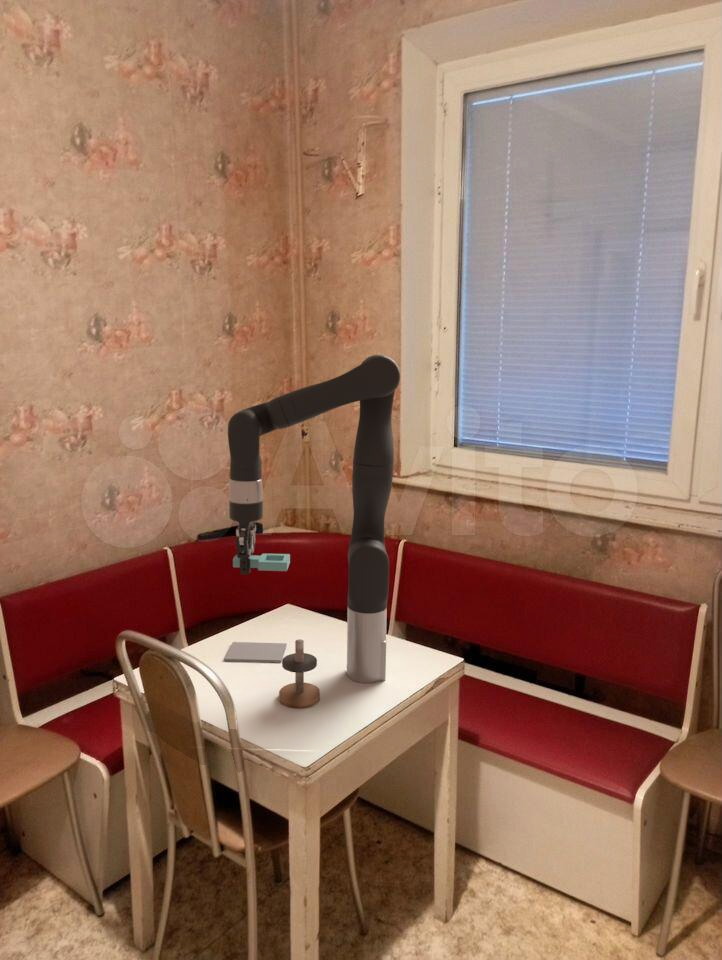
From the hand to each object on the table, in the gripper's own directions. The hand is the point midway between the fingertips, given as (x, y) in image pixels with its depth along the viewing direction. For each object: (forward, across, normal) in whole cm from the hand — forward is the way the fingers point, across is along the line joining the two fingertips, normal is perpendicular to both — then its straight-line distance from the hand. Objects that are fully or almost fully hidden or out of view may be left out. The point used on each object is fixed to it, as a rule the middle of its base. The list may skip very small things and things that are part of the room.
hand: (246, 571), depth 163 cm
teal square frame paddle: (-1, 0, -4) cm, 4 cm away
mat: (+25, +11, -1) cm, 28 cm away
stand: (+25, -11, -14) cm, 31 cm away
